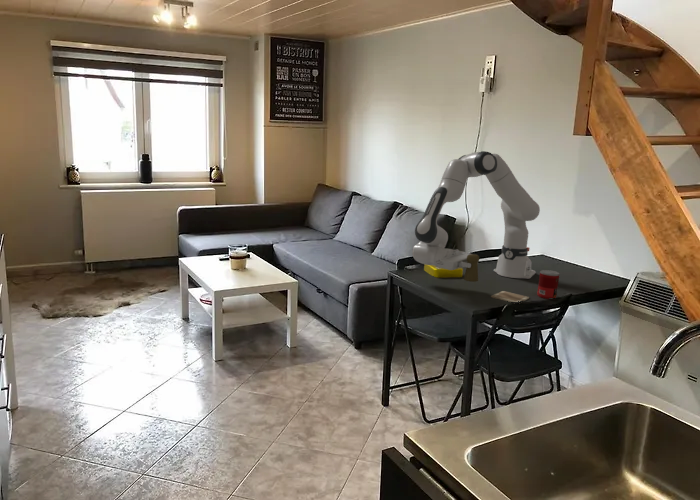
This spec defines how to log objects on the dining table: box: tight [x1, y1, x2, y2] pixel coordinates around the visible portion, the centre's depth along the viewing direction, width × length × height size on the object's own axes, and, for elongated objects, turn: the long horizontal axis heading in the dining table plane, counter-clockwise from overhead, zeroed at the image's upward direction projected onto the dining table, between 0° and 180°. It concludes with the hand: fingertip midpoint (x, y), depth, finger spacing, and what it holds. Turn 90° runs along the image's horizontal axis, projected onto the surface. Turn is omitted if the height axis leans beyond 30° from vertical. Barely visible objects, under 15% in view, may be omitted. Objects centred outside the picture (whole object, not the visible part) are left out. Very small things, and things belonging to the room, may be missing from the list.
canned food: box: [536, 269, 560, 300], centre depth 249 cm, size 8×8×11 cm
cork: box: [463, 253, 480, 283], centre depth 245 cm, size 6×6×11 cm
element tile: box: [423, 264, 464, 279], centre depth 280 cm, size 15×15×5 cm
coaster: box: [490, 290, 530, 303], centre depth 245 cm, size 12×12×1 cm
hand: (474, 264), depth 244 cm, fingers closed on cork, 4 cm apart
